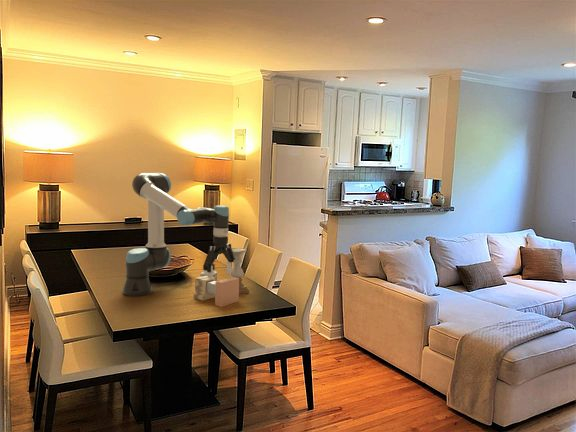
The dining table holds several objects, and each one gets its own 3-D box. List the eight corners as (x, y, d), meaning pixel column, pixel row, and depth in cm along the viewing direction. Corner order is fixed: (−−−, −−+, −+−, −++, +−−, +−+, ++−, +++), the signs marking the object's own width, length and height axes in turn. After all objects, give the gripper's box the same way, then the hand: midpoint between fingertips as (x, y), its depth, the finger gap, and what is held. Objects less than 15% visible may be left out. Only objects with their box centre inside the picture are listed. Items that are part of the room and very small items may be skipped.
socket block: (215, 305, 250) (215, 281, 248) (232, 299, 260) (233, 276, 259) (221, 306, 247) (221, 282, 246) (238, 301, 258) (239, 278, 256)
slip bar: (203, 290, 260) (203, 281, 259) (210, 289, 264) (210, 279, 263) (224, 296, 251) (224, 286, 251) (231, 294, 255) (231, 284, 255)
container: (212, 287, 284) (212, 265, 282) (199, 286, 285) (200, 264, 284) (217, 284, 291) (217, 262, 290) (204, 283, 293) (205, 261, 291)
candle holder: (230, 295, 269) (231, 252, 267) (223, 290, 279) (224, 248, 276) (249, 293, 274) (250, 250, 272) (241, 288, 284) (242, 247, 281)
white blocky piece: (193, 297, 261) (193, 278, 260) (207, 294, 269) (207, 275, 268) (202, 300, 257) (203, 280, 256) (216, 296, 265) (216, 277, 264)
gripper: (208, 239, 241) (207, 281, 244) (242, 234, 261) (240, 273, 264) (197, 237, 245) (196, 278, 248) (231, 232, 265) (230, 271, 268)
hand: (219, 276), depth 256 cm, fingers open, 13 cm apart
